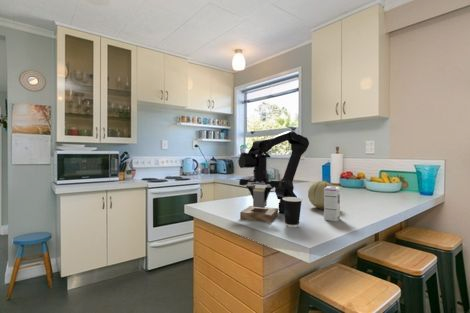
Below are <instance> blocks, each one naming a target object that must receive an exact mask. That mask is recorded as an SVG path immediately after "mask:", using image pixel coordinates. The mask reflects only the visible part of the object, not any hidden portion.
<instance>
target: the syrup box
mask: <svg viewBox="0 0 470 313" xmlns="http://www.w3.org/2000/svg"><path fill="white" fill-rule="evenodd" d="M340 190H341V187H339V186H334V185H333V186H327V187H326V188H324V209H323V215H324V216H323V219H324V220H326V221H332V222H338V221H339V220H340V218H341V216H340V215H341V213H340V212H341V198H340V197H341V194H340V192H341V191H340Z"/></svg>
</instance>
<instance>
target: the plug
mask: <svg viewBox="0 0 470 313" xmlns="http://www.w3.org/2000/svg"><path fill="white" fill-rule="evenodd" d="M267 203H268V200H267V201H266V202H265V187H255V189H253V198H252V206H253V207H261V208H264V207H267Z"/></svg>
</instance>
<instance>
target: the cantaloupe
mask: <svg viewBox="0 0 470 313" xmlns="http://www.w3.org/2000/svg"><path fill="white" fill-rule="evenodd" d="M327 186H334V185H333V184H332V183H330V182H327V181H326V180H324V179H322V180H321V181H320V180H319V181H316V182H314V183H312V185H310V187H309V188H308V191H307V198H308V200H309V203H311V205H313V206H314V207H315V208H317V209H320V210H322V209H323V210H324V188H326V187H327Z"/></svg>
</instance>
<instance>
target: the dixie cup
mask: <svg viewBox="0 0 470 313" xmlns="http://www.w3.org/2000/svg"><path fill="white" fill-rule="evenodd" d="M302 201H303V198H300V197H297V198H296V197H285V198H283V203H284V213H283V214H284V221H285V222H284V223H285V225H286V227H288V228H297V227H299V224H300V217H301V208H302Z"/></svg>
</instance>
